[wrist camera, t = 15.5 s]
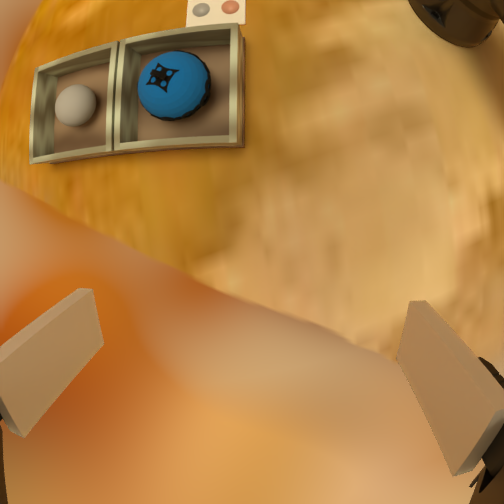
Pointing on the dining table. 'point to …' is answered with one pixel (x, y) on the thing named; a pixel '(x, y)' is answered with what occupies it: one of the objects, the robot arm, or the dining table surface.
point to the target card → (215, 12)
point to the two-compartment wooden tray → (128, 102)
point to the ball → (75, 105)
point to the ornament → (174, 85)
